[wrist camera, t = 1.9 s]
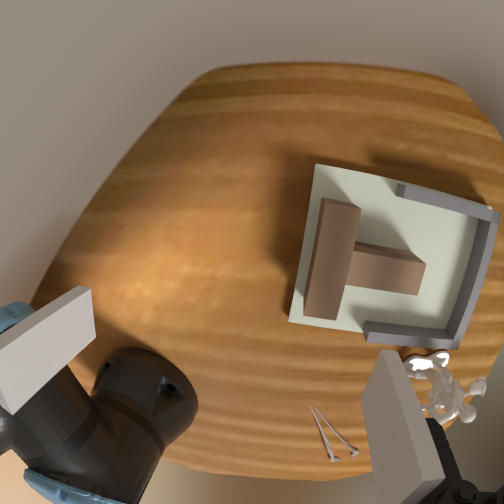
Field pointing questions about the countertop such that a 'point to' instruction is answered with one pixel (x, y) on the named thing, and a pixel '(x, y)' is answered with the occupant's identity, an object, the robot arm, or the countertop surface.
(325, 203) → the t block
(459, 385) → the figurine
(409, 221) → the board
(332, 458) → the silver tweezers
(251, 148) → the countertop surface
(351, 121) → the countertop surface
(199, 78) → the countertop surface
